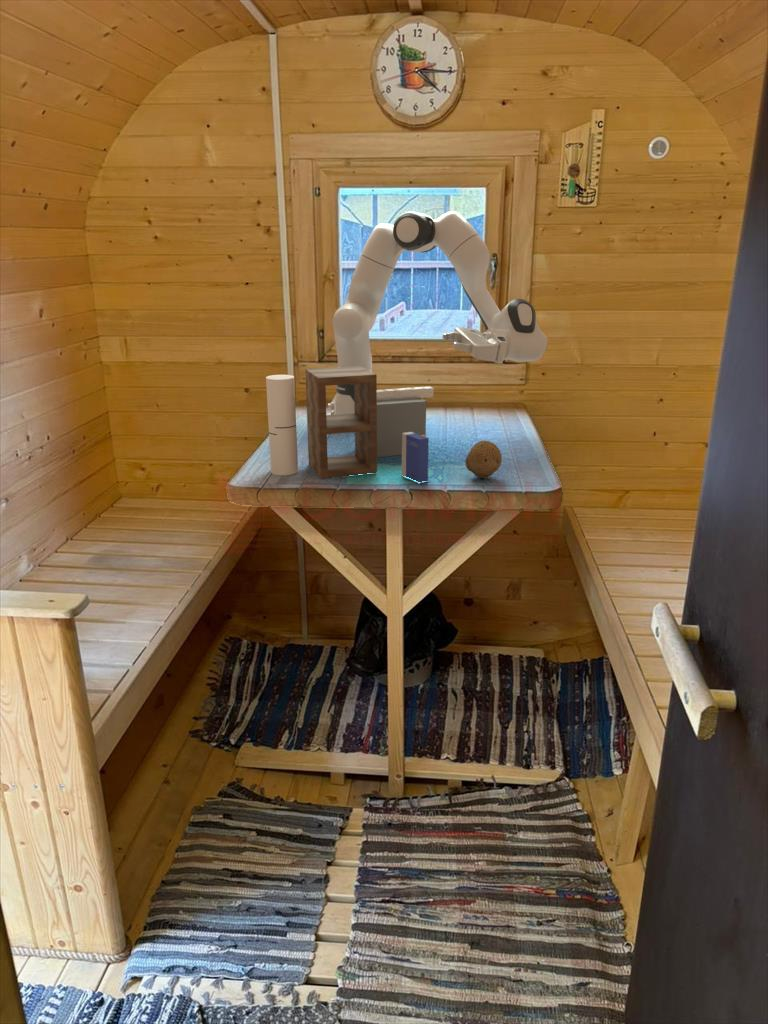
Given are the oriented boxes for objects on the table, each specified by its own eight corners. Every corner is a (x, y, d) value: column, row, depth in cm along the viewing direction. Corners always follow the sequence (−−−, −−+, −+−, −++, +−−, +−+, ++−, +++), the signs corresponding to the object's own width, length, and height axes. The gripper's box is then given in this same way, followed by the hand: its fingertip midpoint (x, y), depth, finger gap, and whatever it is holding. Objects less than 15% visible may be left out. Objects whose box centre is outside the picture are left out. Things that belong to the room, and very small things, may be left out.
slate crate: (359, 447, 225) (359, 396, 219) (410, 442, 229) (411, 393, 224) (372, 457, 214) (371, 404, 209) (425, 452, 219) (426, 401, 213)
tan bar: (364, 399, 215) (364, 390, 214) (430, 395, 221) (430, 386, 220) (367, 401, 213) (367, 392, 212) (433, 396, 219) (433, 387, 218)
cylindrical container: (293, 475, 198) (289, 380, 189) (267, 474, 199) (262, 379, 190) (301, 468, 204) (297, 375, 196) (275, 466, 206) (270, 374, 197)
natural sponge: (504, 484, 191) (506, 445, 188) (469, 484, 191) (470, 446, 187) (496, 473, 200) (498, 436, 196) (463, 474, 199) (464, 437, 196)
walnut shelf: (308, 464, 207) (305, 368, 198) (361, 459, 212) (360, 365, 203) (321, 479, 195) (318, 378, 186) (376, 473, 199) (376, 374, 190)
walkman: (427, 482, 192) (428, 436, 188) (419, 484, 191) (419, 438, 187) (410, 475, 198) (410, 430, 194) (401, 476, 197) (401, 431, 193)
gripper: (483, 323, 227) (439, 320, 223) (508, 343, 210) (462, 340, 206) (478, 344, 230) (435, 341, 226) (504, 365, 213) (457, 362, 209)
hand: (448, 340), depth 216 cm, fingers open, 8 cm apart
